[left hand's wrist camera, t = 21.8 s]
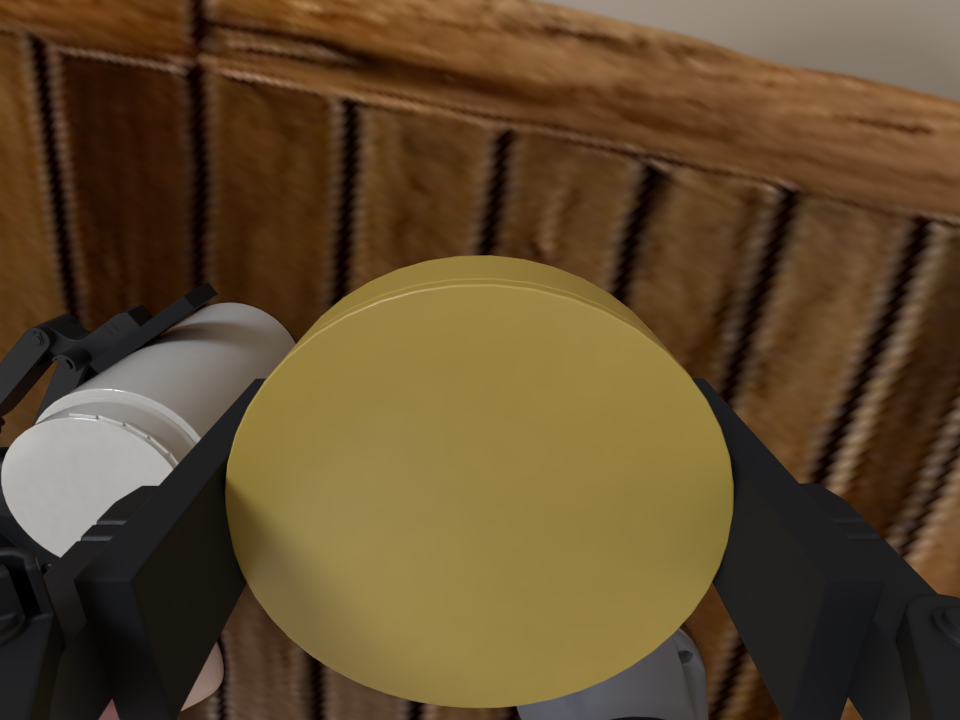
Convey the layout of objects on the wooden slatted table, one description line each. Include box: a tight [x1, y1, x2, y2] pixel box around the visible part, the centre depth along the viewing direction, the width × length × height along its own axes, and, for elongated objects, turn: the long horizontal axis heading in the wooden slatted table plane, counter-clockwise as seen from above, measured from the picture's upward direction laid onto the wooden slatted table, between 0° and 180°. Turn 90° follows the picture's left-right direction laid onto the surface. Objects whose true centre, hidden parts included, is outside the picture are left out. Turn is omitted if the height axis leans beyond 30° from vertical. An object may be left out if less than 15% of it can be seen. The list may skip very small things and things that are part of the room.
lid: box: [225, 256, 734, 708], centre depth 11 cm, size 9×9×2 cm
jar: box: [1, 303, 296, 558], centre depth 31 cm, size 8×8×15 cm
